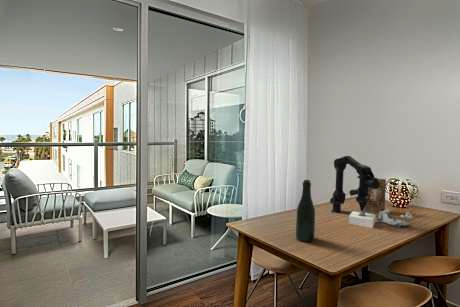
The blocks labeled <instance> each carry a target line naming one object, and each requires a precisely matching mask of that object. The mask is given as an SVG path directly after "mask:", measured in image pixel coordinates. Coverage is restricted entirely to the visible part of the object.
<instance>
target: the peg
mask: <svg viewBox="0 0 460 307" xmlns="http://www.w3.org/2000/svg"><path fill="white" fill-rule="evenodd" d="M359 212H360V216H363V217H365V213H366V212H365V207H364V209H363V211H361V210H360V209H359Z"/></svg>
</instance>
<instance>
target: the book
mask: <svg viewBox="0 0 460 307" xmlns="http://www.w3.org/2000/svg"><path fill="white" fill-rule="evenodd" d="M377 180H378V181H379V183H380V186H379V188H377V189H373V188H369V193H370V198H369V200H368V202H367V204H366V207H365V213H371V212H372V213H371V214H378V213H379V212H381V211H386V209H385V208H386V206H385V205H386V188H387V187H386V186H387V179H384V178H377ZM367 197H369V196H367Z"/></svg>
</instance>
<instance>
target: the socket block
mask: <svg viewBox="0 0 460 307" xmlns="http://www.w3.org/2000/svg"><path fill="white" fill-rule="evenodd" d="M375 223H376V213H369V212H365V217H363V216H360V211H354V210H353V211H352V212H350V214H349V216H348V224H349V225H354V226H360V227H366V228H370V229H371V228H372V229H373V228H374V225H375Z"/></svg>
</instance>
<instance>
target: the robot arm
mask: <svg viewBox="0 0 460 307" xmlns="http://www.w3.org/2000/svg"><path fill="white" fill-rule="evenodd" d="M347 165H349V166H350V167H352V168H354V169H355V171H356V173H357V175H358V176H356V178H357V179H359V181H358V182H359V183H358V188H355V189H350V190H349V191H348V192H349V195H350V197H353V196H356V197H355V201H356V202H357V203H358V204H359V211H360V210H361V211H363V209H364V207H366V204H367V202H368V200H369V198H370V193H369V188H373V189H377V188H379V186H380V183H379V181H378V180H377V179H378V177H375V174H374V173H373V170H372V169H371V167H370V166H368V165H366V164H362V163H360V162H358V161H357V160H356V159H355V158H353V157H352V156H351V155H344V156H342V157H339V158H335V159H334V160H333V167H334V169H335V190H334V191H333V193H332V197H331V198H330V199H329V203H330V204H331V205H332V210H331V212H332V213H337V214H338V213H339V214H341V213H342V212H343V210H342V209H341V208H342V204H344V203H345V201H346V193H345V192H344V190H343V189H344V173H345V172H344V171H345V170H346V168H347ZM367 196H369V197H367Z"/></svg>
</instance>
